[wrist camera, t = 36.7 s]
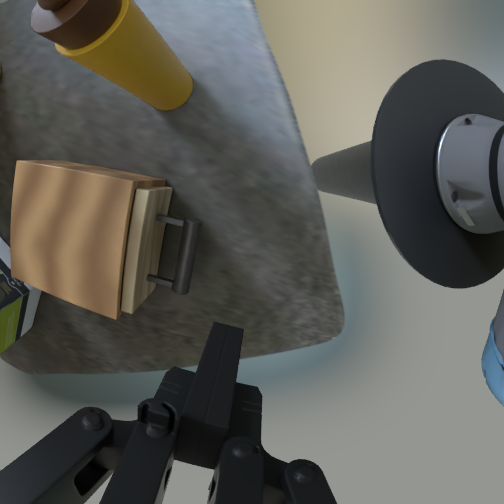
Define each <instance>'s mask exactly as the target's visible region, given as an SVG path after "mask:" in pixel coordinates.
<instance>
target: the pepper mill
mask: <svg viewBox="0 0 504 504" xmlns="http://www.w3.org/2000/svg"><path fill="white" fill-rule="evenodd" d="M37 1H38V2H37V3H36V5H35V7H34V9H33V12H32V15H31V20H30V24H31V28H32V30H33V31H34V32H36V33H38V34H40V35H41V36H43V37H45V38H47V39H49V40H51V41H53V42H55V46H56V49H57V50H58V52H59V53H61V54H62V55H64V56H66V57H68V58H70V59H72V60H74V61H75V62H77V63H79V64H81V65H83V66H85V67H87V68H88V69H90V70H92V71H94V72H96V73H97V74H99V75H101V76H103V77H104V78H106V79H108V80H110V81H111V82H113V83H115V84H117V85H118V86H120V87H122V88H123V89H125V90H127V91H128V92H130V93H132V94H133V95H135V96H137V97H138V98H140V99H142V100H143V101H145V102H147V103H148V104H150V105H151V106H153V107H155V108H157V109H159V110H164V111H167V110H173V109H176V108H178V107H180V106H181V105H183V104H184V103H185V102H186V101H187V100H188V98H189V97H190V95H191V92H192V89H193V81H192V78H191V76H190V74H189V73H188V71H187V70H186V69H185V67H184V66H183V65H182V63H181V62H180V60H179V59H178V58H177V56H176V55H175V54H174V52H173V51H172V50H171V48H170V47H169V46H168V44H167V43H166V42H165V40H164V39H163V38H162V36H161V35H160V34H159V32H158V31H157V30H156V28H155V27H154V26H153V25H152V23H151V22H150V21H149V19H148V18H147V17H146V16H145V14H144V13H143V12H142V11H141V9H140V8H139V7H138V5H137V4H136V3H135V2H134V1H133V0H37Z"/></svg>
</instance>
